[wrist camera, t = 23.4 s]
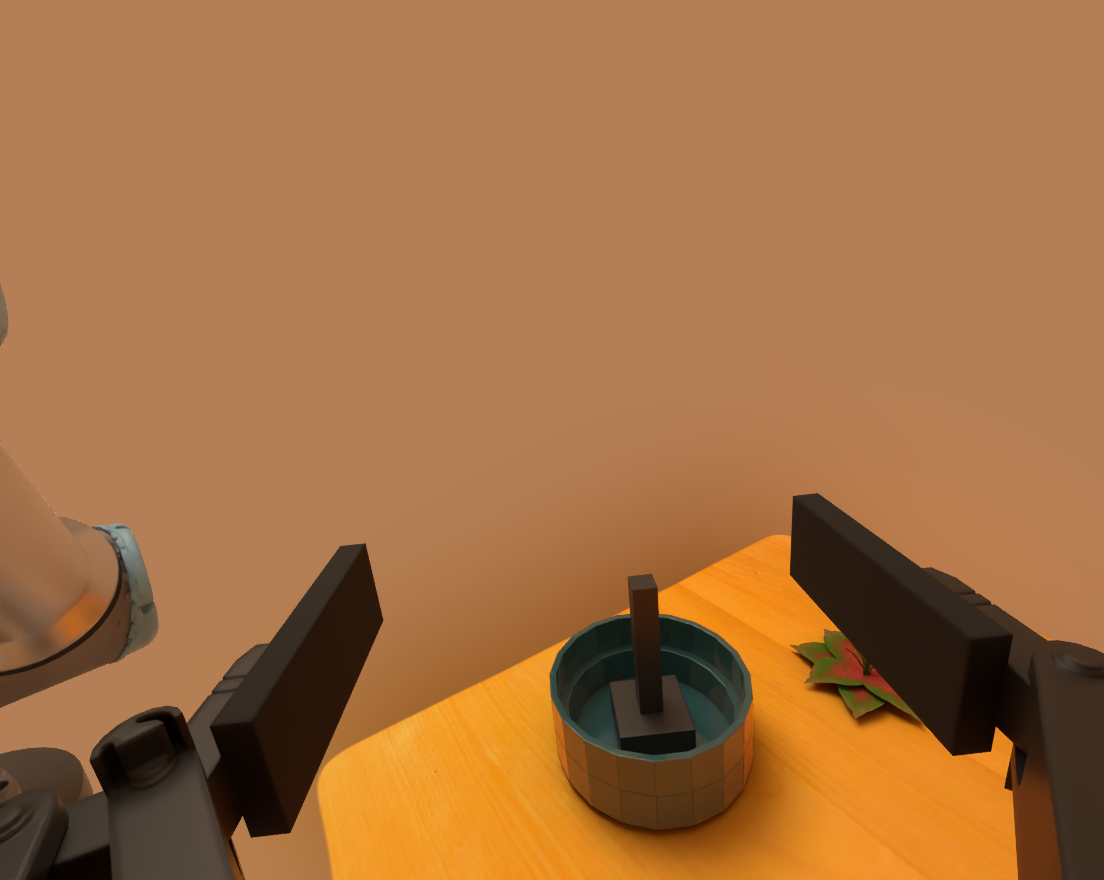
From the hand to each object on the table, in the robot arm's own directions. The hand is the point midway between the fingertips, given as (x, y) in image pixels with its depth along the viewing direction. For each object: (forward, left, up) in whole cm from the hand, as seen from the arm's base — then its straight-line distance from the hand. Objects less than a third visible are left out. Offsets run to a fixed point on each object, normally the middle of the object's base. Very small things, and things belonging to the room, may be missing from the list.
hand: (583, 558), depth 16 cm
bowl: (+5, +18, -28) cm, 33 cm away
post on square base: (+5, +18, -27) cm, 33 cm away
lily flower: (+25, +22, -28) cm, 43 cm away
